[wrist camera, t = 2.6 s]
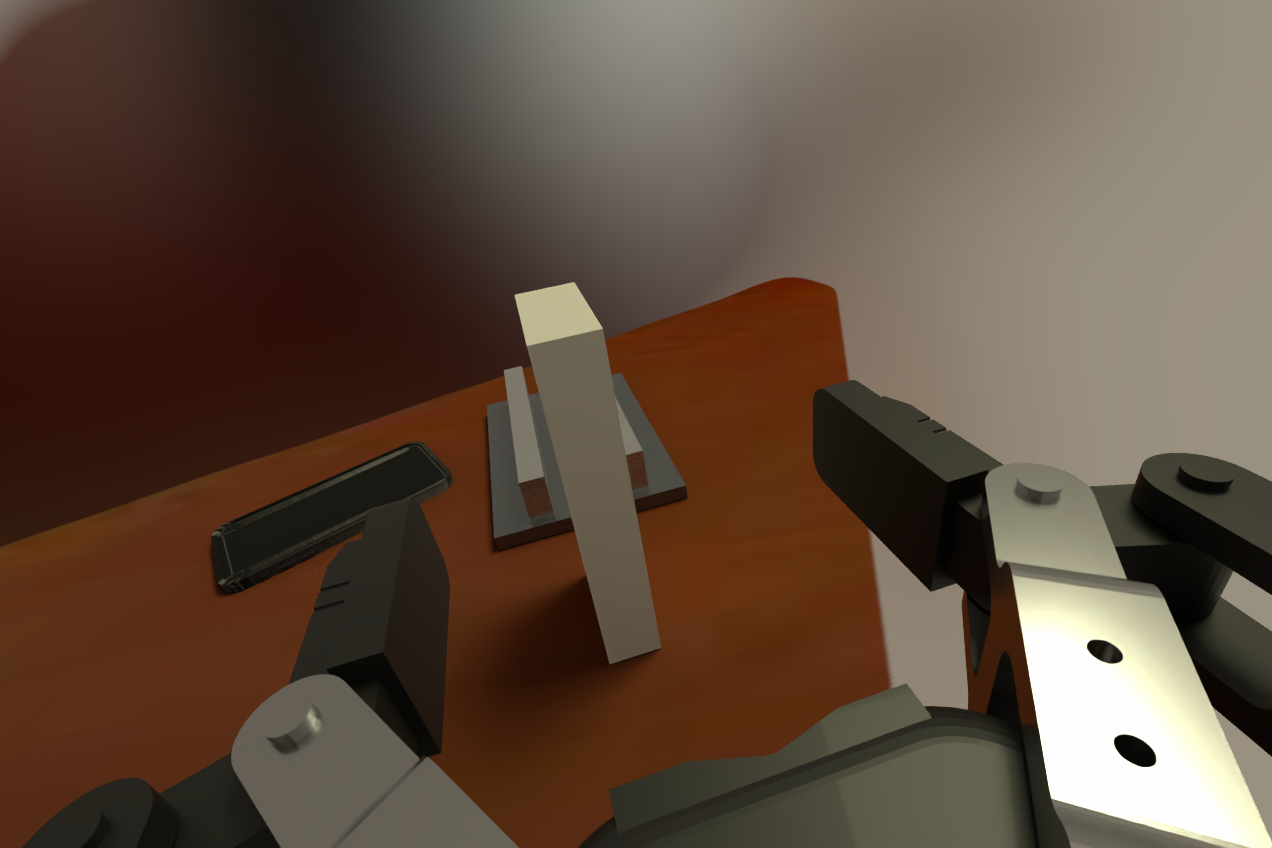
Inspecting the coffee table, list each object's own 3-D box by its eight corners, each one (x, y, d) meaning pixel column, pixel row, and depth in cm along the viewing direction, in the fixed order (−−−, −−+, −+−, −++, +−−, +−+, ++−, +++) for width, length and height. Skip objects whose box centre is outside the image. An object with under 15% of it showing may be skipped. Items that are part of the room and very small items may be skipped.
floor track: (498, 550, 34) (479, 498, 32) (490, 415, 49) (477, 374, 47) (687, 497, 36) (680, 445, 34) (622, 382, 51) (615, 342, 49)
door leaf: (609, 664, 26) (526, 346, 18) (587, 574, 31) (514, 295, 23) (665, 646, 27) (608, 327, 18) (633, 560, 32) (578, 281, 24)
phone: (209, 530, 39) (418, 437, 46) (218, 542, 40) (423, 449, 47) (218, 592, 33) (455, 475, 40) (227, 605, 34) (460, 488, 41)
